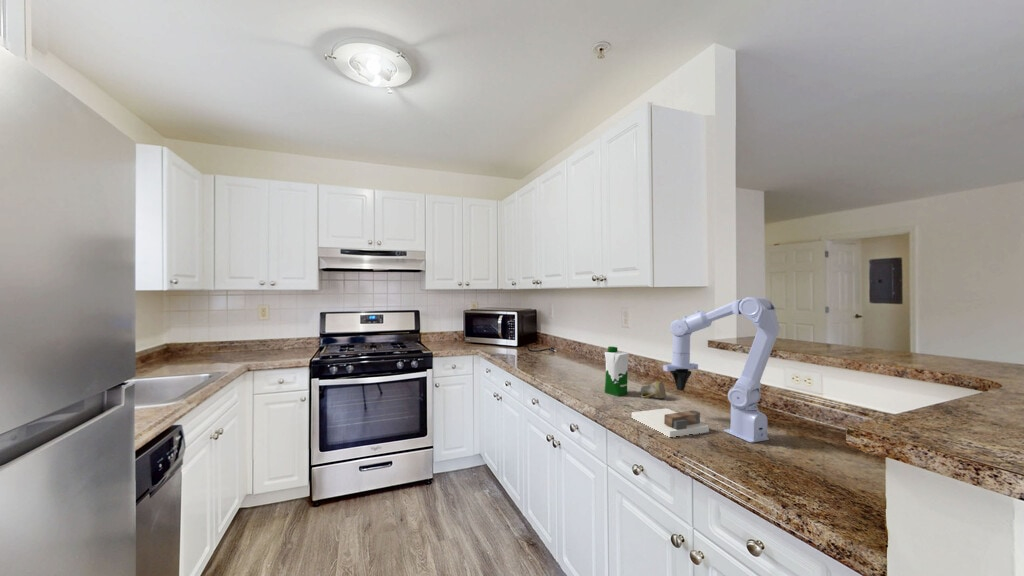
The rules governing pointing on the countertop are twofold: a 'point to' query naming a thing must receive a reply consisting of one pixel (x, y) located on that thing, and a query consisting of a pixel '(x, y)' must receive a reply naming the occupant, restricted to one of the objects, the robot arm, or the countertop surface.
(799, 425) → the countertop surface
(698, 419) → the folding leg
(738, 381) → the robot arm
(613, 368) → the milk carton
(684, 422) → the stool seat
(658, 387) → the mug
